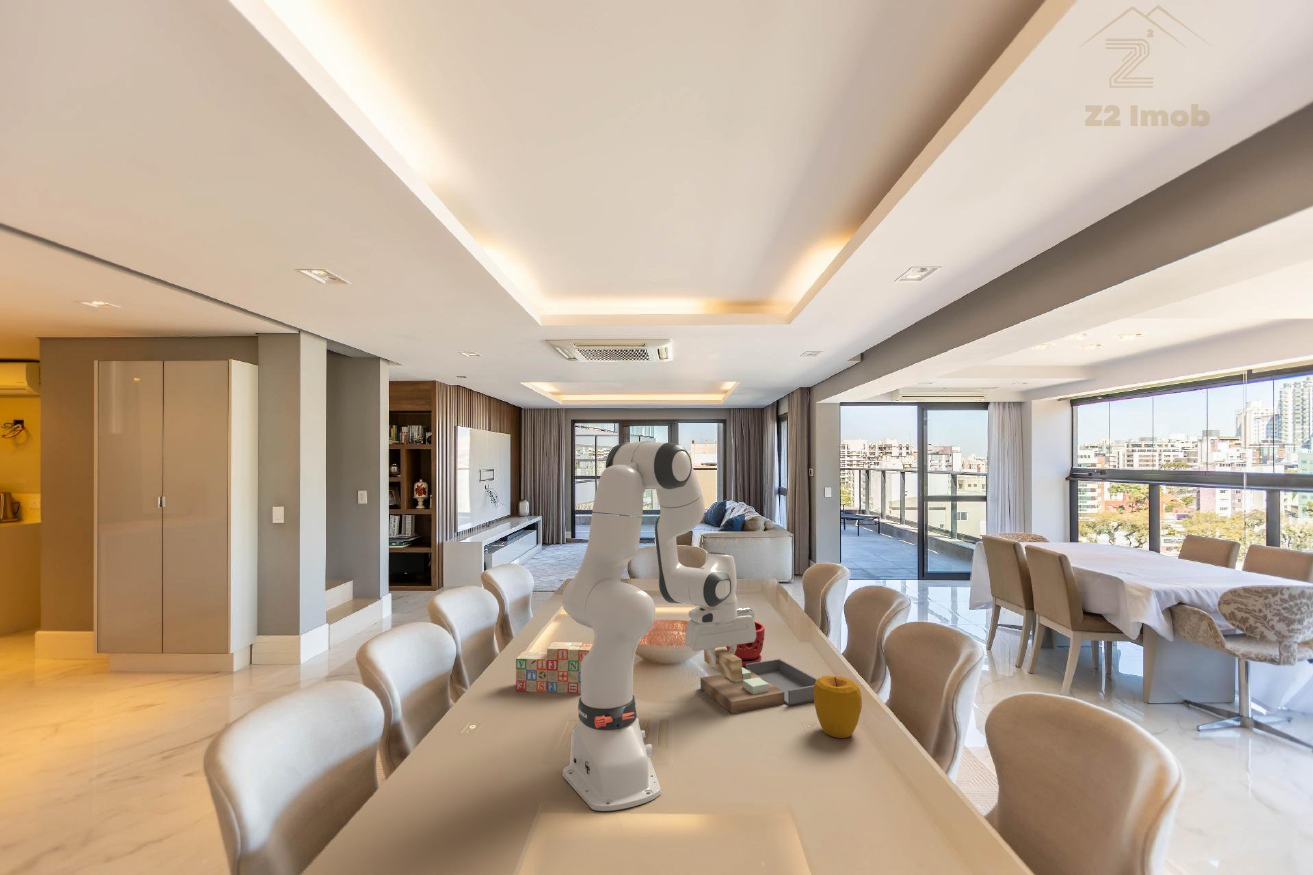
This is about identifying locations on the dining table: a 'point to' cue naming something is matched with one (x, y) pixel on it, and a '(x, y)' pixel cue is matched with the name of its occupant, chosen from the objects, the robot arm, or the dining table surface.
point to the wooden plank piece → (726, 663)
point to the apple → (837, 705)
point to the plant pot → (751, 647)
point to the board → (739, 694)
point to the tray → (786, 680)
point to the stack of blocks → (552, 668)
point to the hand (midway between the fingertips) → (722, 662)
